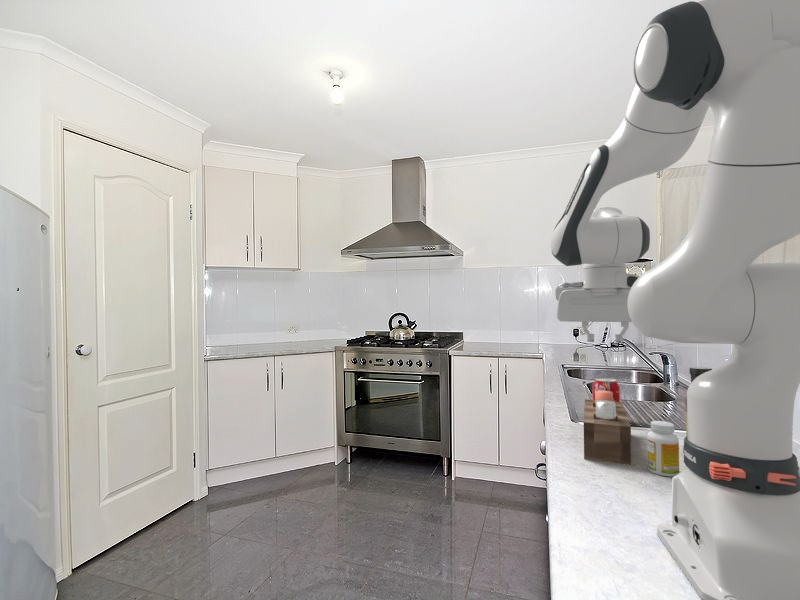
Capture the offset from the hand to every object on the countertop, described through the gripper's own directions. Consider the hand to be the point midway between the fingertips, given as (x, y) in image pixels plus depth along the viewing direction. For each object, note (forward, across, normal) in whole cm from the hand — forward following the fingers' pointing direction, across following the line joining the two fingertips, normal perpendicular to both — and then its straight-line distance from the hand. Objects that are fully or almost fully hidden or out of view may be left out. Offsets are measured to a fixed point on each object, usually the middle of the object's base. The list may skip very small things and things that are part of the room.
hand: (604, 342), depth 93 cm
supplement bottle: (+25, +10, -7) cm, 28 cm away
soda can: (+25, +1, +29) cm, 38 cm away
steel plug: (+21, 0, 0) cm, 21 cm away
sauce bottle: (+25, +19, +4) cm, 32 cm away
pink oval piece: (+21, 0, +12) cm, 24 cm away
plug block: (+25, 0, +6) cm, 26 cm away
